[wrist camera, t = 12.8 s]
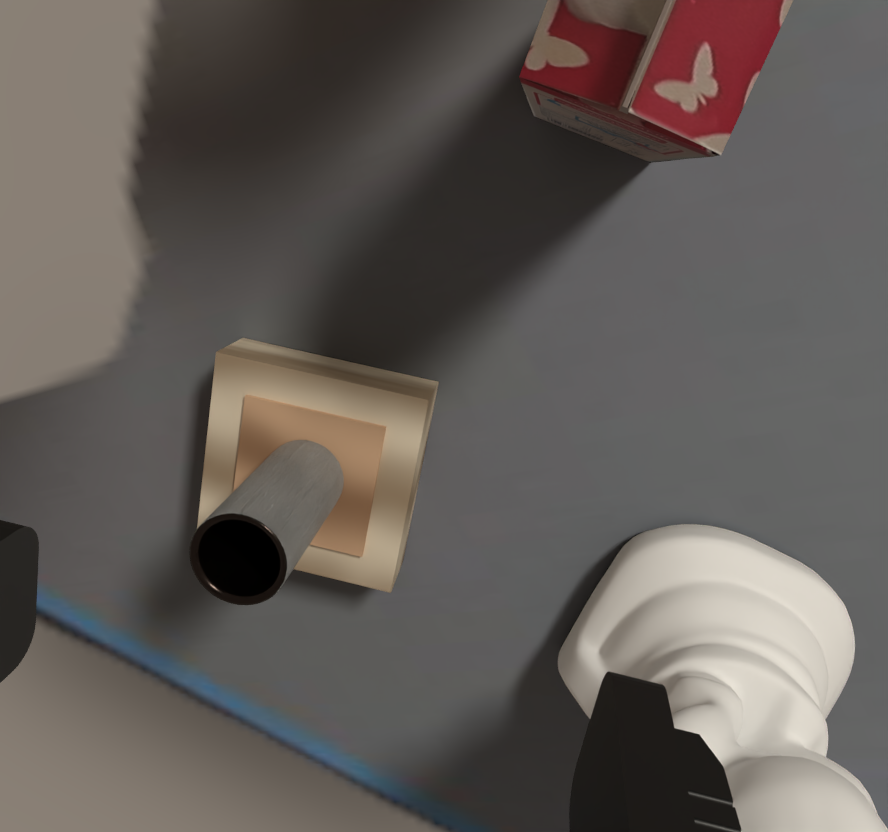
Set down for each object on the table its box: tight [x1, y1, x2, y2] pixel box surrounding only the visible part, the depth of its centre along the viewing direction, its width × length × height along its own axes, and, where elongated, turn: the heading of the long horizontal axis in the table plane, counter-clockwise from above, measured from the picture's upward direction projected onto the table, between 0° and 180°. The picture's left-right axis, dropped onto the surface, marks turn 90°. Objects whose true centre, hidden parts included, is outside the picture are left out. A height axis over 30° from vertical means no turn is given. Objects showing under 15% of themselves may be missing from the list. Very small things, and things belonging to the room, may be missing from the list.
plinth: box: [197, 338, 439, 593], centre depth 47 cm, size 12×12×4 cm
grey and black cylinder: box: [189, 440, 344, 605], centre depth 40 cm, size 4×4×10 cm
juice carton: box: [519, 0, 793, 163], centre depth 31 cm, size 7×7×22 cm
